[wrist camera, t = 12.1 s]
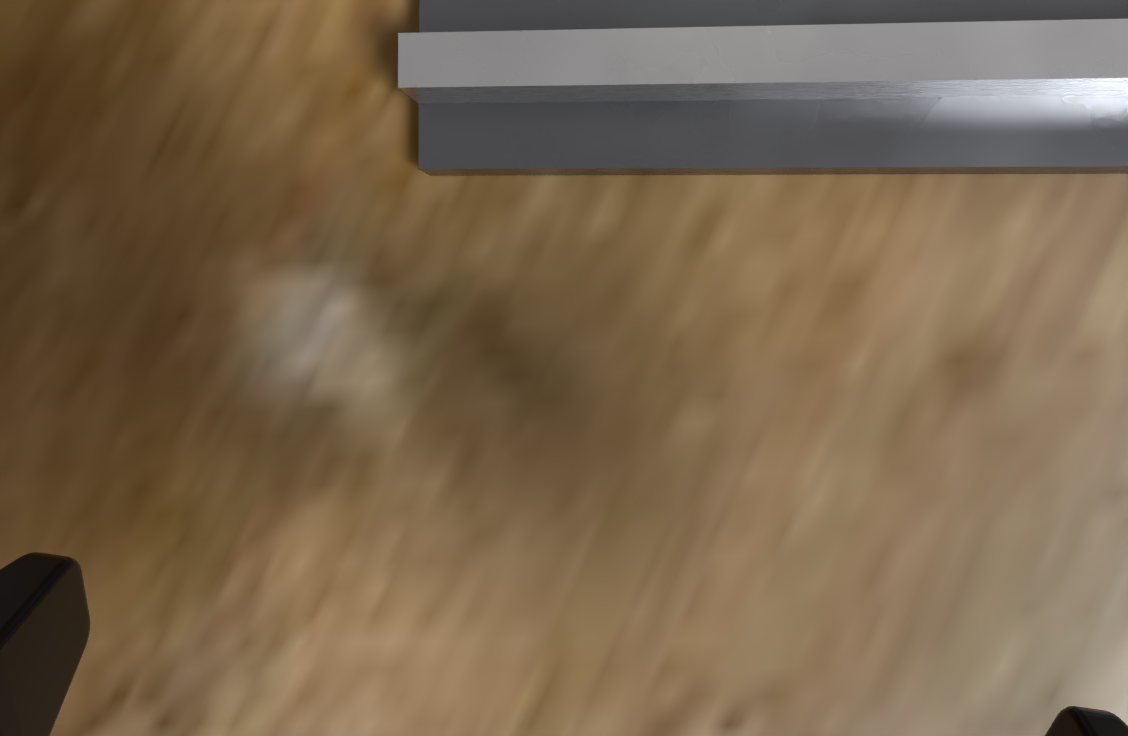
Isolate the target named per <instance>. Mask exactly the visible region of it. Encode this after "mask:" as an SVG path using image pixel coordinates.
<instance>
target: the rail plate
mask: <svg viewBox="0 0 1128 736" xmlns="http://www.w3.org/2000/svg"><path fill="white" fill-rule="evenodd" d="M398 88H399V89H400V90H402V91H403V92H404V93H406V94H407V95H408V96H410V97H411V98H412V99H413V100H415V101H416V102H417V103H419V167H418V169H419V170H421V171H423V172H425V173H427V174H429V175H431V176H447V175H773V174H1099V173H1128V0H419V33H398Z"/></svg>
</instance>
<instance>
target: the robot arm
mask: <svg viewBox="0 0 1128 736" xmlns="http://www.w3.org/2000/svg"><path fill="white" fill-rule="evenodd" d="M89 631H90V616H89V610H88V605H87V599H86V594H85V588H84V582H83V577H82V571H81V568H80V565H79V564H78V562H77V561H76V560H75V559H73V558H71V557H66V556H59V555H52V554H46V553H37V552H34V553H29V554H26V555H24V556H22V557H20V558H18V559H16V560H15V561H13V562H12V563H10V564H9V565H7V566H5V567H4V568H2V569H1V570H0V736H50V733H51V731H52V728H53V726H54V723H55V721H56V718H57V716H58V714H59V711H60V709H61V706H62V704H63V701H64V699H65V696H66V694H67V691H68V689H69V686H70V684H71V681H72V679H73V677H74V674H75V672H76V669H77V667H78V664H79V662H80V659H81V657H82V654H83V652H84V649H85V647H86V644H87V640H88V637H89ZM1045 736H1128V726H1127V725H1126V724H1125V723H1124V722H1123V721H1122V720H1121V719H1120V718H1119V717H1117V716H1116V715H1114V714H1113V713H1110V712H1108V711H1103V710H1097V709H1090V708H1083V707H1076V706H1069V707H1067V708H1065V709H1063V710H1061V711H1060V713H1059V714H1058V715H1057V717H1056V719H1055V720H1054V722H1053V723H1052V725H1051V727H1050V728H1049V730H1048V731H1047V733H1046V735H1045Z"/></svg>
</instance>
